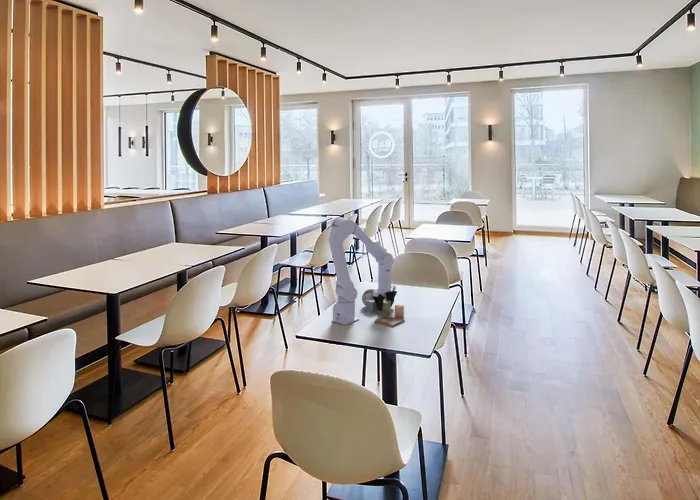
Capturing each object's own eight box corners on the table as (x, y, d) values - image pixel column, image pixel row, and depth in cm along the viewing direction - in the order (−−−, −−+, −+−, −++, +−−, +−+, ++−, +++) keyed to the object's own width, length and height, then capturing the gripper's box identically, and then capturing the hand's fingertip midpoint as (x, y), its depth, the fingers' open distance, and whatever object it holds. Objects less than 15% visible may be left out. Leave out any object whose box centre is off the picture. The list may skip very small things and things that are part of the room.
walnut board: (392, 327, 196) (392, 325, 196) (375, 322, 202) (375, 320, 202) (404, 321, 203) (404, 319, 203) (387, 317, 209) (387, 315, 209)
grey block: (372, 312, 216) (372, 301, 215) (365, 311, 218) (365, 300, 217) (377, 310, 219) (377, 300, 218) (370, 308, 221) (370, 298, 220)
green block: (385, 316, 211) (385, 303, 209) (378, 314, 213) (378, 301, 212) (390, 313, 214) (390, 300, 212) (383, 312, 216) (383, 299, 215)
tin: (394, 308, 222) (394, 290, 221) (393, 310, 219) (393, 292, 218) (362, 305, 226) (362, 288, 225) (361, 307, 223) (361, 290, 222)
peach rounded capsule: (400, 319, 206) (400, 308, 205) (392, 317, 209) (392, 306, 208) (405, 316, 209) (405, 305, 208) (397, 315, 212) (398, 304, 211)
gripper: (382, 283, 202) (382, 314, 205) (401, 277, 213) (401, 306, 216) (369, 281, 207) (369, 311, 209) (388, 274, 218) (388, 303, 220)
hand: (384, 308), depth 213 cm, fingers open, 7 cm apart
